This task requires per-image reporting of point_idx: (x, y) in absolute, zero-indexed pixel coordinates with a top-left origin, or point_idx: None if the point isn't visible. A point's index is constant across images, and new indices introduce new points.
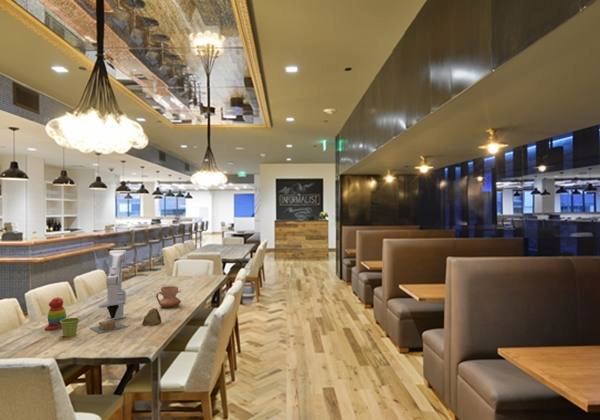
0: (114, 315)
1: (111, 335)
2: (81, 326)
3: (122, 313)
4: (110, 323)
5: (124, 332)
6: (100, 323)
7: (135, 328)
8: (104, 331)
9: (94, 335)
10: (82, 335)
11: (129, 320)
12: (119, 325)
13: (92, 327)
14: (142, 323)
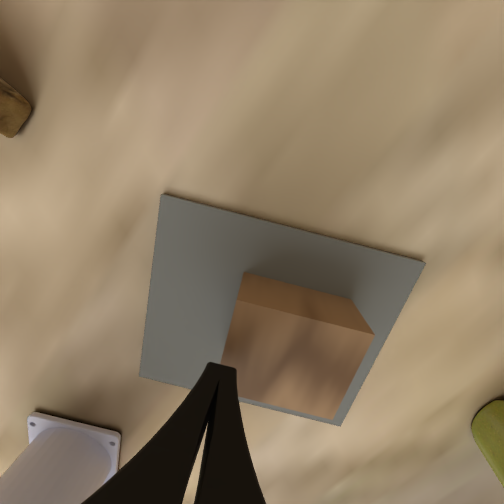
0: (205, 386)
1: (440, 96)
2: (321, 489)
3: (26, 457)
4: (293, 308)
5: (305, 48)
6: (344, 387)
7: (147, 63)
8: (376, 260)
9: (479, 260)
10: (499, 346)
11: (53, 334)
12: (188, 286)
13: (324, 420)
14: (18, 98)
